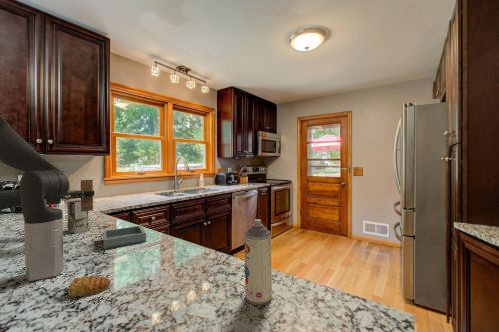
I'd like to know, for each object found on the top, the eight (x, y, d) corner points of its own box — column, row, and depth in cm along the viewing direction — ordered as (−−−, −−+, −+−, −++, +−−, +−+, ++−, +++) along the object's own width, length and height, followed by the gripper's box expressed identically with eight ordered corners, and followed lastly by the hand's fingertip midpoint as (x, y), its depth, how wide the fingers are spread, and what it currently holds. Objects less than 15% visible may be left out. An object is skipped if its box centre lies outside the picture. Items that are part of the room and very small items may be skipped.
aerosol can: (245, 290, 62) (244, 217, 62) (270, 289, 62) (269, 216, 62) (245, 305, 55) (243, 223, 55) (273, 305, 55) (272, 223, 55)
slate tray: (146, 242, 102) (145, 233, 102) (103, 250, 93) (103, 240, 93) (140, 233, 115) (140, 225, 115) (103, 239, 106) (103, 230, 106)
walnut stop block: (92, 210, 105) (92, 180, 105) (81, 211, 102) (80, 180, 102) (93, 208, 108) (92, 179, 108) (81, 210, 106) (81, 180, 106)
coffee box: (89, 230, 121) (88, 200, 121) (74, 233, 116) (74, 202, 116) (81, 228, 126) (80, 199, 126) (67, 231, 121) (66, 201, 121)
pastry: (113, 282, 68) (113, 269, 68) (106, 294, 61) (105, 280, 61) (76, 287, 65) (76, 273, 65) (65, 300, 59) (64, 286, 59)
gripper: (42, 189, 91) (93, 186, 101) (49, 186, 103) (94, 184, 113) (42, 207, 91) (94, 203, 101) (49, 202, 103) (94, 199, 113)
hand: (94, 193), depth 107 cm, fingers closed on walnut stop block, 4 cm apart
